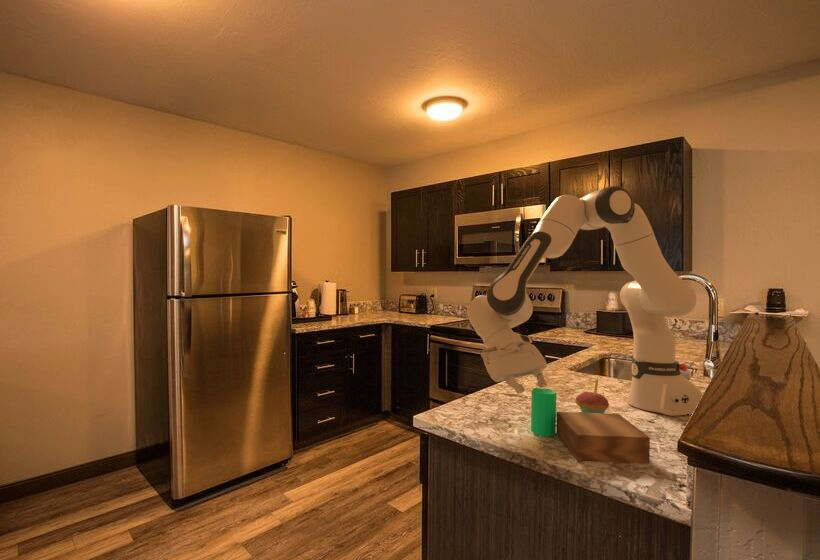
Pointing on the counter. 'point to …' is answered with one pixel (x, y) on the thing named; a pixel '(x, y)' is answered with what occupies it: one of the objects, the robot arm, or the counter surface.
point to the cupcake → (592, 401)
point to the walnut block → (602, 438)
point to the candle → (543, 412)
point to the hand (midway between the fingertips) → (533, 389)
